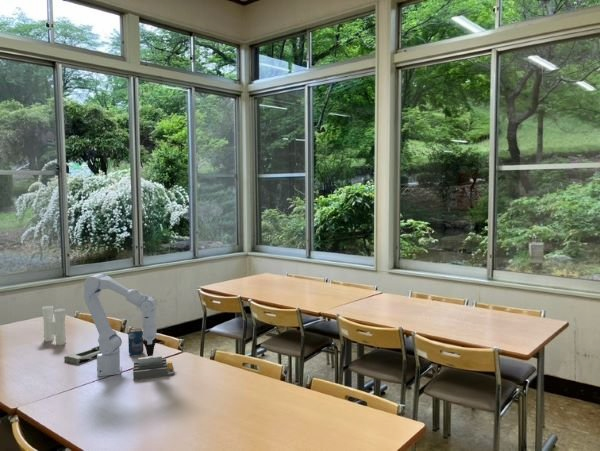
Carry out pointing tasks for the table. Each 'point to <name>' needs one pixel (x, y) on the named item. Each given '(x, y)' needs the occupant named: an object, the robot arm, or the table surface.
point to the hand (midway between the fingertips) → (150, 355)
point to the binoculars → (54, 324)
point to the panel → (150, 361)
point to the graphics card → (83, 356)
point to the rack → (153, 370)
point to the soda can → (135, 342)
